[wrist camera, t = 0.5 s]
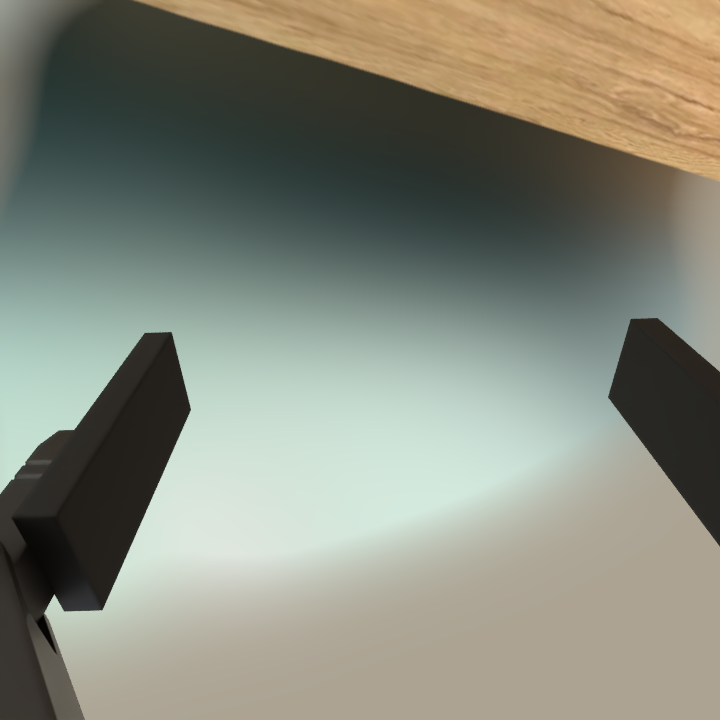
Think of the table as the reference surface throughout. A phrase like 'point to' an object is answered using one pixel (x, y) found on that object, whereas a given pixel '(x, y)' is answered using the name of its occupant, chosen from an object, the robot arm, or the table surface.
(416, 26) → the table surface
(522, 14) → the table surface
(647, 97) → the table surface
